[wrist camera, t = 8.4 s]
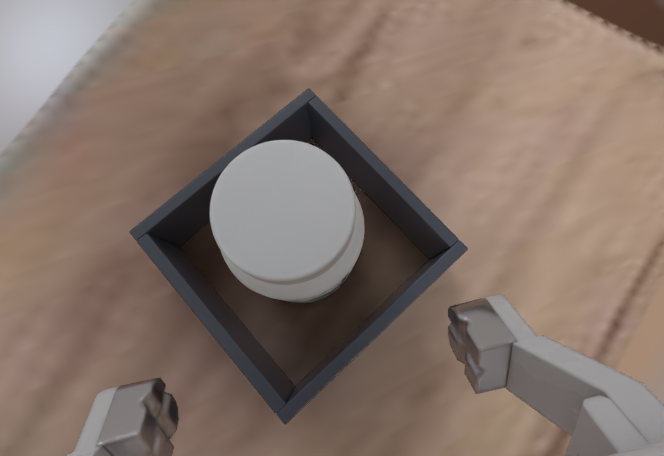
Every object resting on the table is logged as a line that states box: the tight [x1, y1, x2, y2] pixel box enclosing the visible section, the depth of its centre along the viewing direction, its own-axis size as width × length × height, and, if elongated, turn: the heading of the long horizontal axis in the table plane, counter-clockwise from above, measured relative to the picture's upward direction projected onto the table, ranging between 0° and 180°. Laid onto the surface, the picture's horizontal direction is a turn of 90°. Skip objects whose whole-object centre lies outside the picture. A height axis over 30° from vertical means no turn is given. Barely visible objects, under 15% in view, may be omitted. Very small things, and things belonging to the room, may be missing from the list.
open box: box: [130, 88, 468, 424], centre depth 20 cm, size 11×11×4 cm
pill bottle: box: [210, 140, 365, 303], centre depth 17 cm, size 6×6×10 cm
